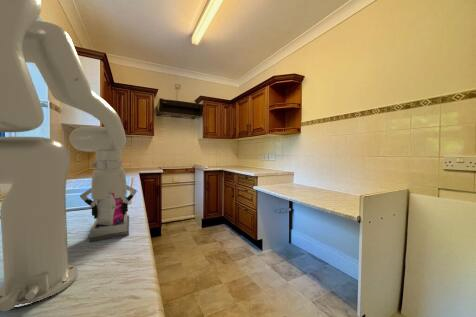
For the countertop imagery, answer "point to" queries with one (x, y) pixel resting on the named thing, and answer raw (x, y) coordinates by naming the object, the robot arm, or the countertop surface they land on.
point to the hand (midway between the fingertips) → (110, 215)
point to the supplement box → (109, 211)
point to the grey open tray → (110, 230)
